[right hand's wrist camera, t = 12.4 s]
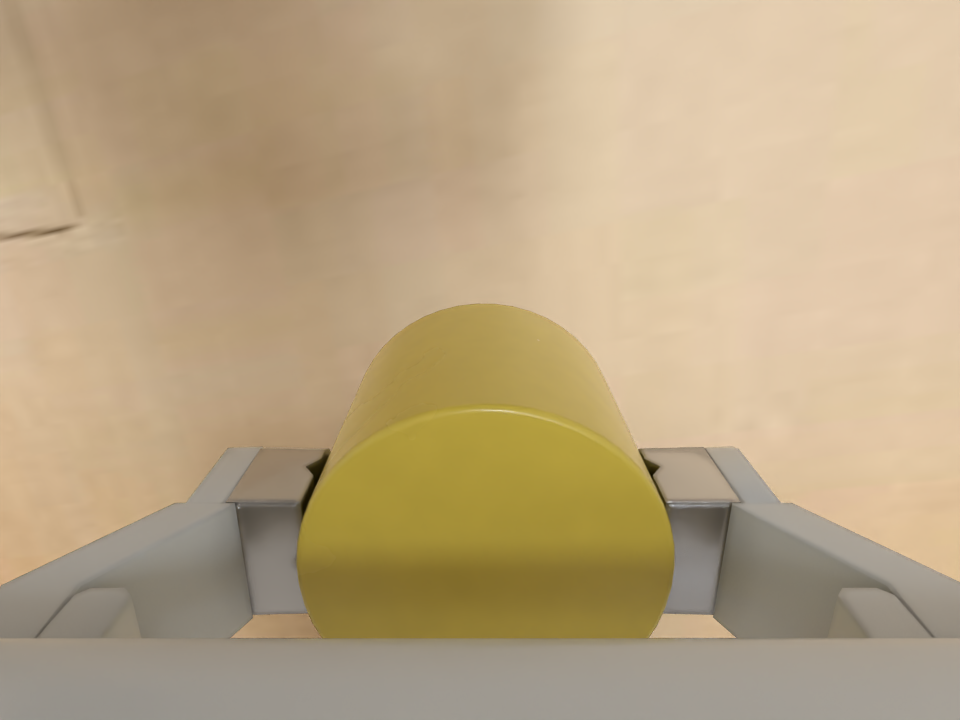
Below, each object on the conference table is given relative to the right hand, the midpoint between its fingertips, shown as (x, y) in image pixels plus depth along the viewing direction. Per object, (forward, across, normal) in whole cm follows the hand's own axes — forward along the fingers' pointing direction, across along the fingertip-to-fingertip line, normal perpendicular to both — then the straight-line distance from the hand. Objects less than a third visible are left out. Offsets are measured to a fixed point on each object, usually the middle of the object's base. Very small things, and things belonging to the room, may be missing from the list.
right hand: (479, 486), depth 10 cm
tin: (+2, 0, 0) cm, 2 cm away
